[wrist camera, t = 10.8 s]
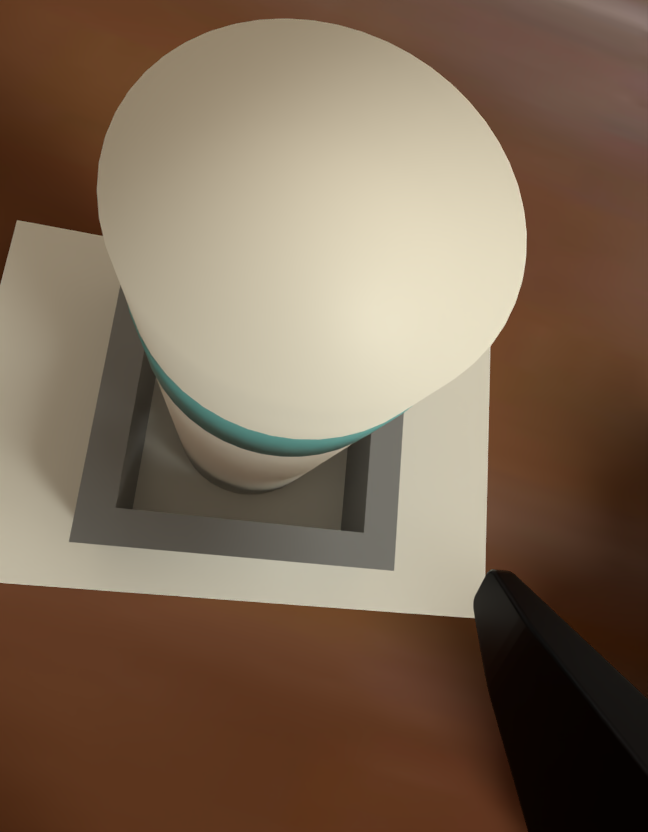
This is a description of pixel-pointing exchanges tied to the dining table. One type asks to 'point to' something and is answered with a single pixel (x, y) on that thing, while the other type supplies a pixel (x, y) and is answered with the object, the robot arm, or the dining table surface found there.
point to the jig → (192, 493)
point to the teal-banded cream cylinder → (304, 240)
